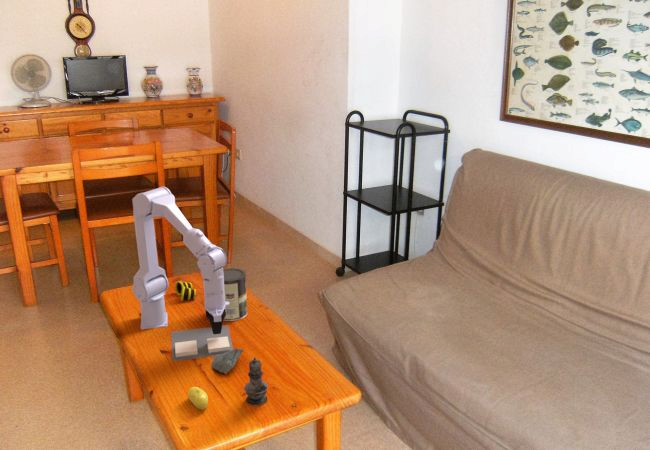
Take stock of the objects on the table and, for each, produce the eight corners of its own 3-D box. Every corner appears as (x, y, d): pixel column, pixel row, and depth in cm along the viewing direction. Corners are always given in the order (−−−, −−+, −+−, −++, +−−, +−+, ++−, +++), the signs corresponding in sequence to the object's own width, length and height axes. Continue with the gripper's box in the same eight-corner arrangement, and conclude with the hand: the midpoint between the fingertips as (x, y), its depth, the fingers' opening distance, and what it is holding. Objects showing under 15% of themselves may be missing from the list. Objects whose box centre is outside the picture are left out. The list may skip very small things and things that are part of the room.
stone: (207, 383, 158) (243, 373, 157) (202, 369, 157) (238, 359, 157) (214, 364, 169) (248, 355, 168) (210, 352, 168) (243, 342, 167)
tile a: (174, 342, 172) (175, 353, 166) (196, 340, 173) (197, 350, 168) (175, 347, 172) (175, 358, 167) (196, 345, 174) (197, 355, 168)
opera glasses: (196, 303, 203) (198, 289, 202) (180, 303, 200) (182, 289, 199) (188, 292, 211) (190, 279, 210) (174, 292, 208) (175, 278, 207)
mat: (171, 333, 181) (171, 332, 181) (227, 326, 185) (227, 325, 185) (172, 362, 166) (172, 361, 165) (234, 354, 170) (234, 353, 170)
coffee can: (238, 304, 200) (236, 265, 195) (253, 316, 191) (251, 276, 187) (210, 312, 194) (207, 272, 190) (223, 325, 186) (221, 283, 181)
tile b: (206, 338, 174) (208, 349, 168) (227, 336, 175) (229, 346, 170) (207, 343, 174) (208, 354, 169) (227, 341, 176) (230, 351, 170)
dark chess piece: (245, 393, 152) (243, 351, 148) (268, 392, 152) (267, 350, 148) (244, 407, 146) (242, 364, 142) (268, 405, 147) (266, 363, 143)
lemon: (195, 415, 144) (194, 401, 142) (186, 397, 150) (184, 384, 149) (212, 409, 145) (211, 396, 144) (202, 392, 152) (201, 379, 151)
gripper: (231, 299, 164) (233, 343, 168) (225, 278, 177) (228, 319, 182) (205, 302, 162) (208, 346, 167) (201, 281, 176) (204, 322, 180)
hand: (216, 332), depth 174 cm, fingers closed
